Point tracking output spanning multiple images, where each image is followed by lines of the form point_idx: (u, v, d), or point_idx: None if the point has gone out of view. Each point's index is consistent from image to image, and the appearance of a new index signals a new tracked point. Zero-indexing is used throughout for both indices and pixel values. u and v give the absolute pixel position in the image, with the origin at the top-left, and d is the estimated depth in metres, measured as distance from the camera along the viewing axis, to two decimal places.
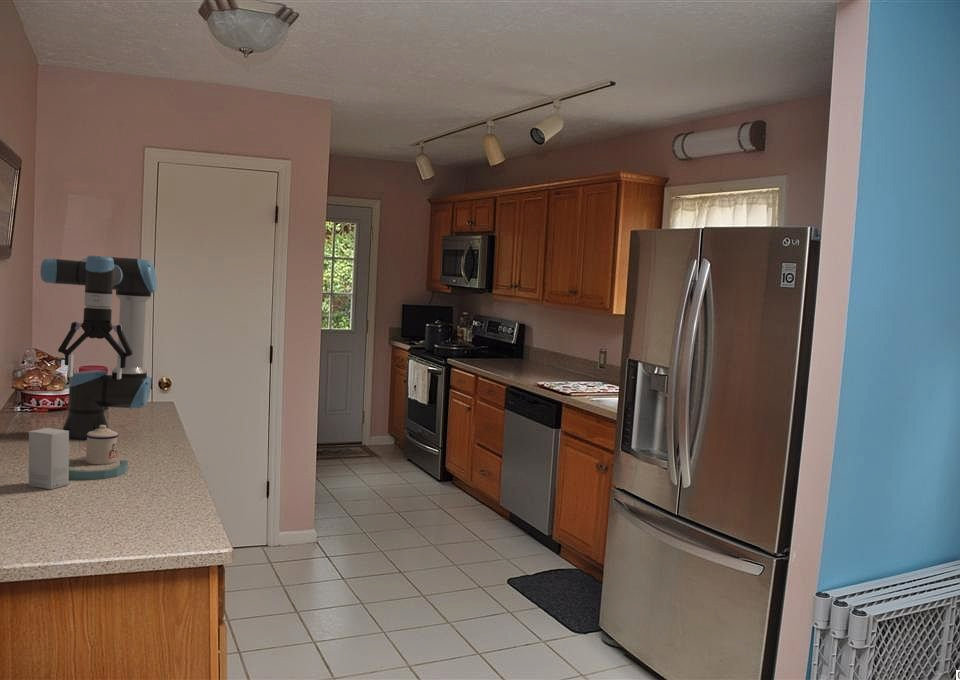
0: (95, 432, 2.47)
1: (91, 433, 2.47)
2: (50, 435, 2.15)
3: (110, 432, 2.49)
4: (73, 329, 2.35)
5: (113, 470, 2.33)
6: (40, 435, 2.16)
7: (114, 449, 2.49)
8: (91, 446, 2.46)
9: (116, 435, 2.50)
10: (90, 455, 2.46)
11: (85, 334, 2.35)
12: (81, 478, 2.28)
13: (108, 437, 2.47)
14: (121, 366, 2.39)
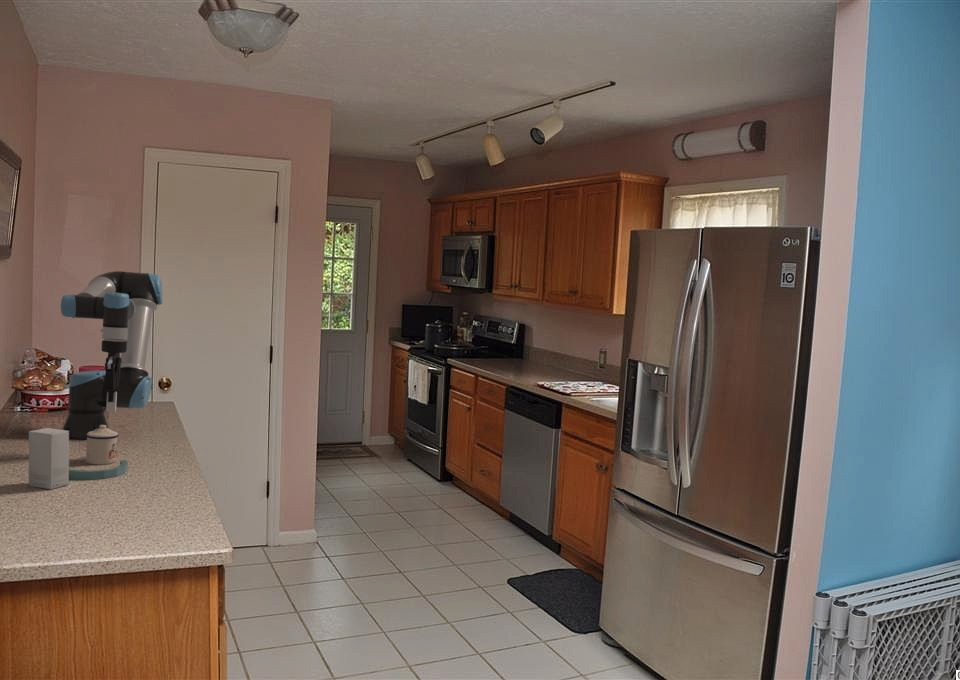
0: (95, 432, 2.47)
1: (91, 433, 2.47)
2: (50, 435, 2.15)
3: (110, 432, 2.49)
4: None
5: (113, 470, 2.33)
6: (40, 435, 2.16)
7: (114, 449, 2.49)
8: (91, 446, 2.46)
9: (116, 435, 2.50)
10: (90, 455, 2.46)
11: None
12: (81, 478, 2.28)
13: (108, 437, 2.47)
14: None
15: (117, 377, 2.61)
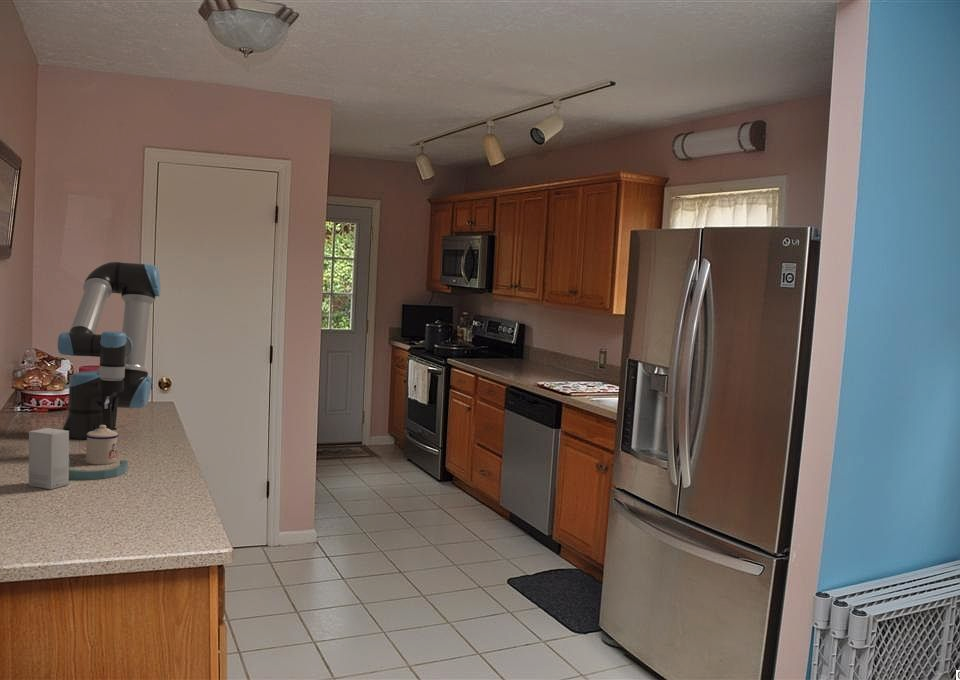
0: (95, 432, 2.47)
1: (91, 433, 2.47)
2: (50, 435, 2.15)
3: (110, 432, 2.49)
4: None
5: (113, 470, 2.33)
6: (40, 434, 2.16)
7: (114, 449, 2.49)
8: (91, 446, 2.46)
9: (116, 435, 2.50)
10: (90, 455, 2.46)
11: None
12: (81, 478, 2.28)
13: (108, 437, 2.47)
14: None
15: (114, 416, 2.60)
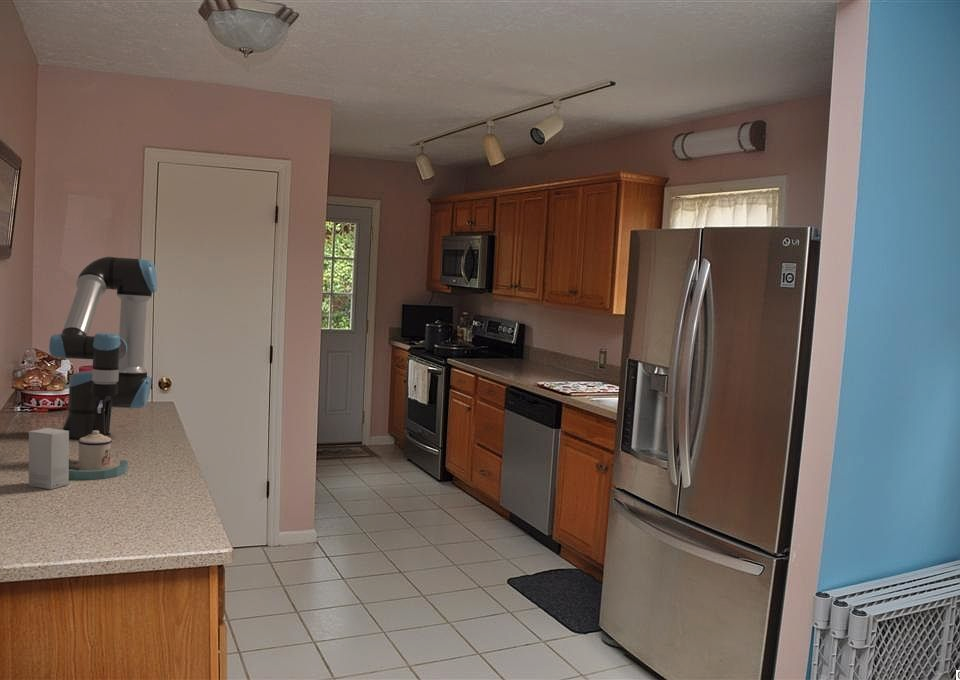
0: (88, 438, 2.38)
1: (83, 439, 2.38)
2: (50, 435, 2.15)
3: (103, 438, 2.40)
4: None
5: (113, 470, 2.33)
6: (40, 435, 2.16)
7: (107, 455, 2.40)
8: (84, 453, 2.37)
9: (109, 441, 2.41)
10: (82, 462, 2.37)
11: None
12: (81, 478, 2.28)
13: (101, 443, 2.38)
14: None
15: (108, 420, 2.51)
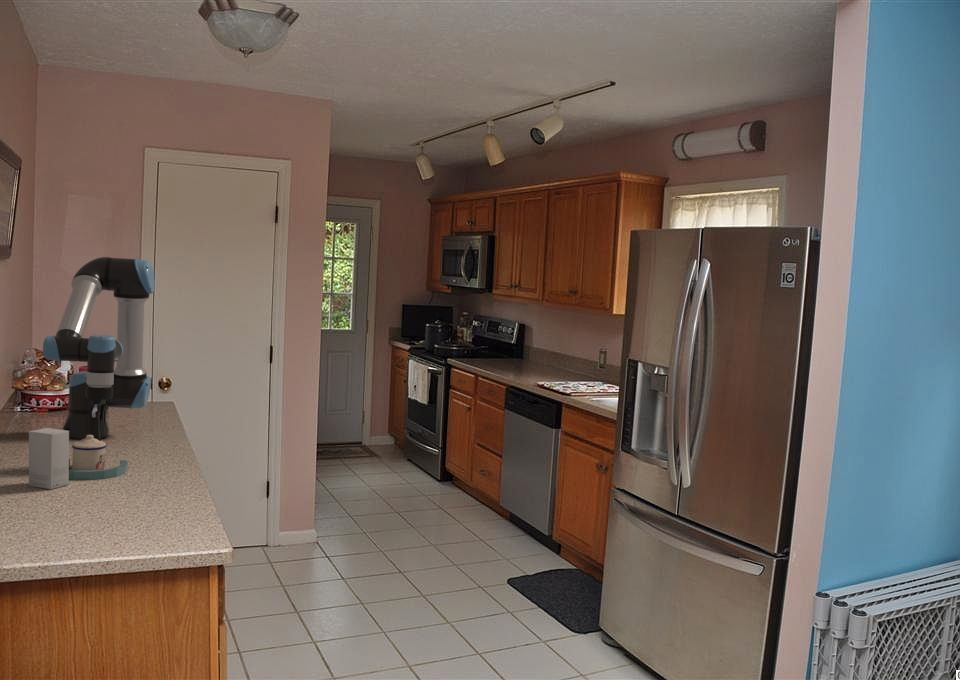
0: (81, 443, 2.32)
1: (77, 444, 2.31)
2: (50, 435, 2.15)
3: (97, 442, 2.33)
4: None
5: (113, 470, 2.33)
6: (40, 435, 2.16)
7: (102, 461, 2.34)
8: (77, 458, 2.30)
9: (104, 446, 2.34)
10: (76, 468, 2.31)
11: None
12: (81, 478, 2.28)
13: (95, 448, 2.31)
14: None
15: (103, 425, 2.45)
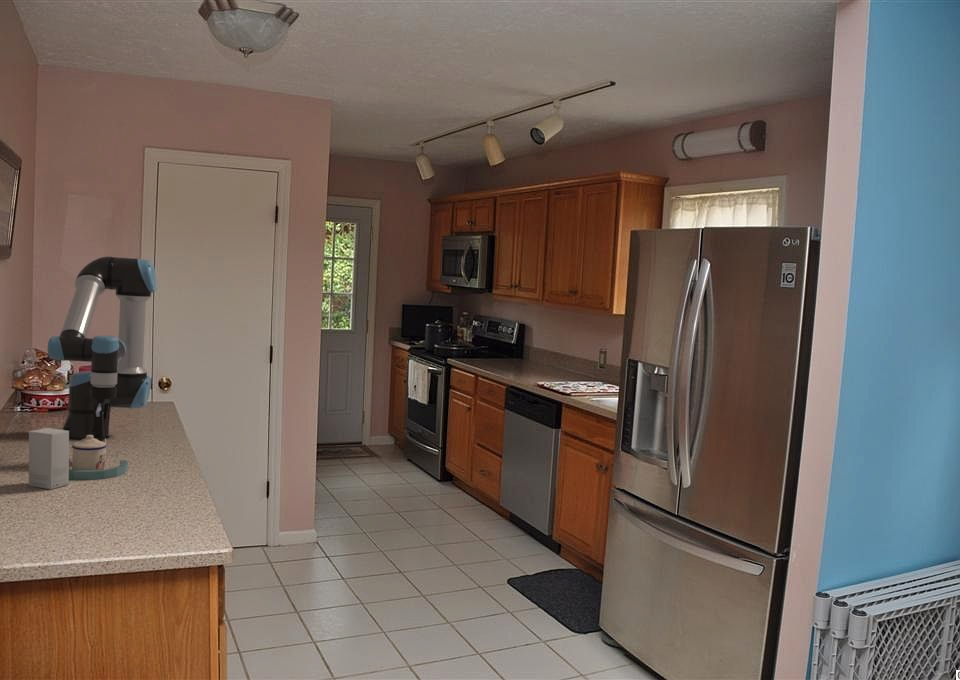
0: (81, 443, 2.32)
1: (77, 444, 2.31)
2: (50, 435, 2.15)
3: (97, 443, 2.33)
4: None
5: (113, 470, 2.33)
6: (40, 435, 2.16)
7: (102, 461, 2.34)
8: (77, 458, 2.30)
9: (104, 446, 2.34)
10: (76, 468, 2.31)
11: None
12: (81, 478, 2.28)
13: (95, 448, 2.31)
14: None
15: (106, 423, 2.50)
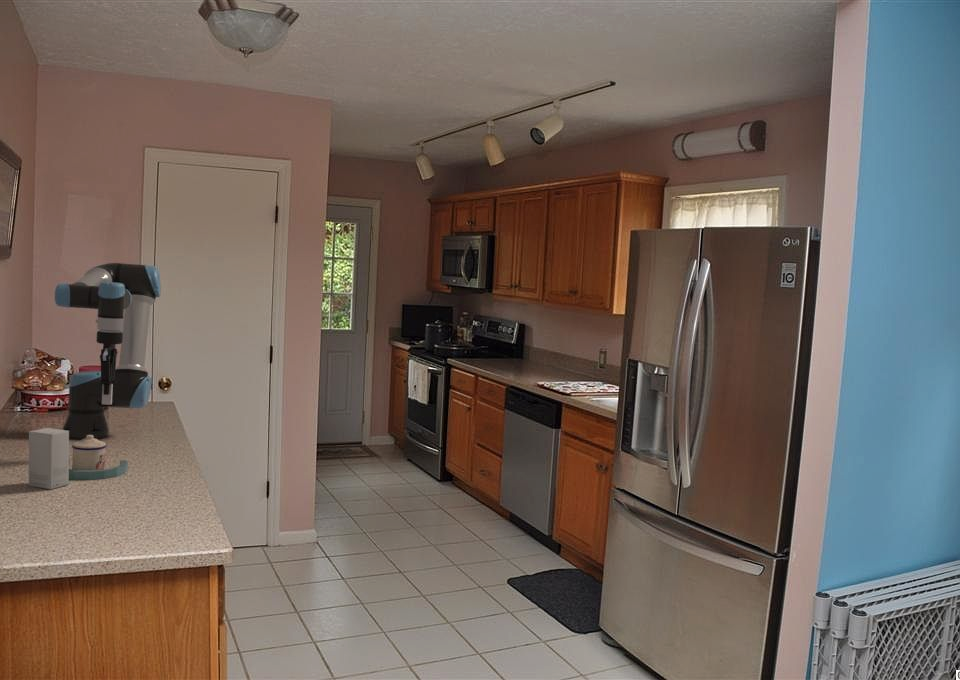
0: (81, 443, 2.32)
1: (77, 444, 2.31)
2: (50, 435, 2.15)
3: (97, 443, 2.33)
4: None
5: (113, 470, 2.33)
6: (40, 434, 2.16)
7: (102, 461, 2.34)
8: (77, 458, 2.30)
9: (104, 446, 2.34)
10: (76, 468, 2.31)
11: None
12: (81, 478, 2.28)
13: (95, 448, 2.31)
14: None
15: (113, 369, 2.54)
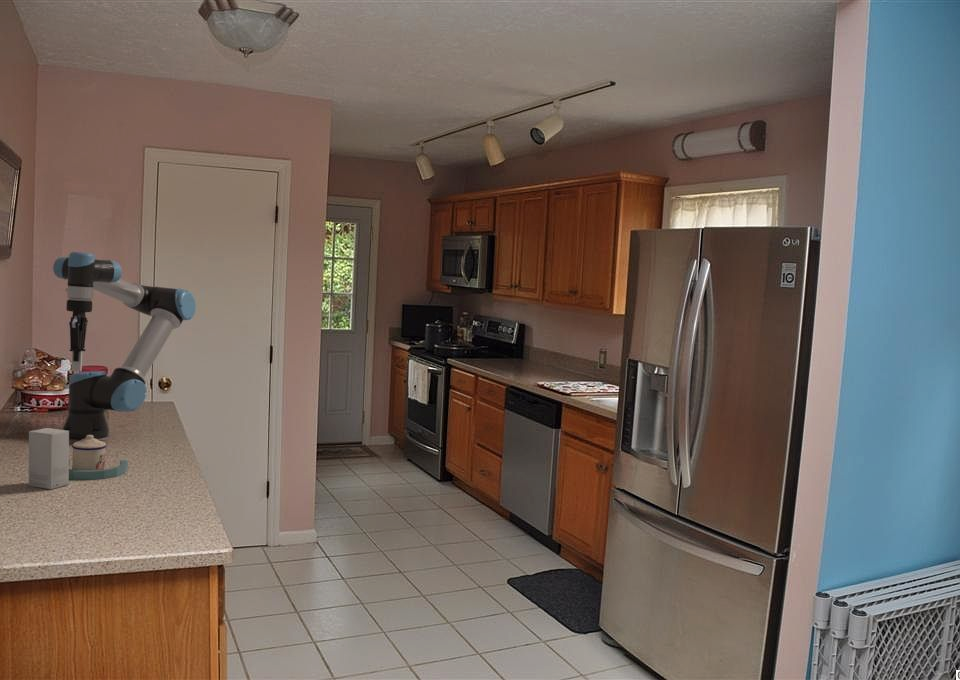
0: (81, 443, 2.32)
1: (77, 444, 2.31)
2: (50, 435, 2.15)
3: (97, 442, 2.33)
4: None
5: (113, 470, 2.33)
6: (40, 434, 2.16)
7: (102, 461, 2.34)
8: (77, 458, 2.30)
9: (104, 446, 2.34)
10: (76, 468, 2.31)
11: None
12: (81, 478, 2.28)
13: (95, 448, 2.31)
14: None
15: (83, 337, 2.61)
